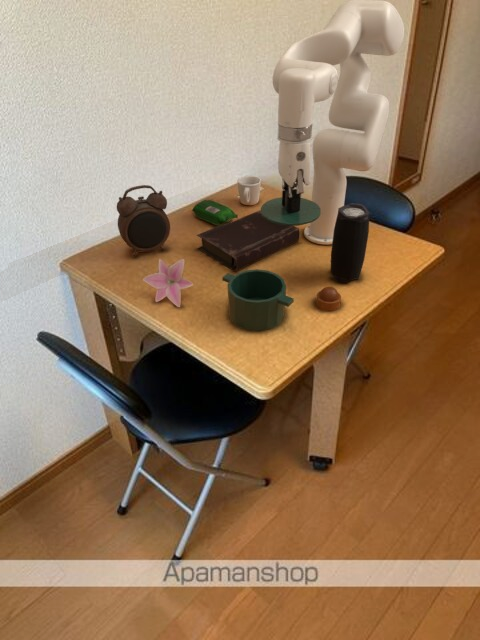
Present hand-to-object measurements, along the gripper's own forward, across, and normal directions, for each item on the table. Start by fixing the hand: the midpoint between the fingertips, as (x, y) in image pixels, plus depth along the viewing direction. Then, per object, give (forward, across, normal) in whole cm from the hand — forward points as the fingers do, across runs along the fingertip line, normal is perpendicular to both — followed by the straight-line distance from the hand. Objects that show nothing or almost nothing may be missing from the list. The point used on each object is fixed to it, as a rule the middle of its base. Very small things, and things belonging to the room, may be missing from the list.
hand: (290, 208), depth 121 cm
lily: (+21, +1, +31) cm, 38 cm away
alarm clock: (+21, +26, +35) cm, 48 cm away
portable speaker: (+21, -2, -16) cm, 27 cm away
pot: (+21, -12, +12) cm, 27 cm away
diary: (+21, +21, +5) cm, 30 cm away
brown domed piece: (+21, -13, -7) cm, 26 cm away
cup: (+21, +48, -2) cm, 53 cm away
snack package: (+21, +40, +12) cm, 47 cm away
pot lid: (+1, 0, 0) cm, 1 cm away
